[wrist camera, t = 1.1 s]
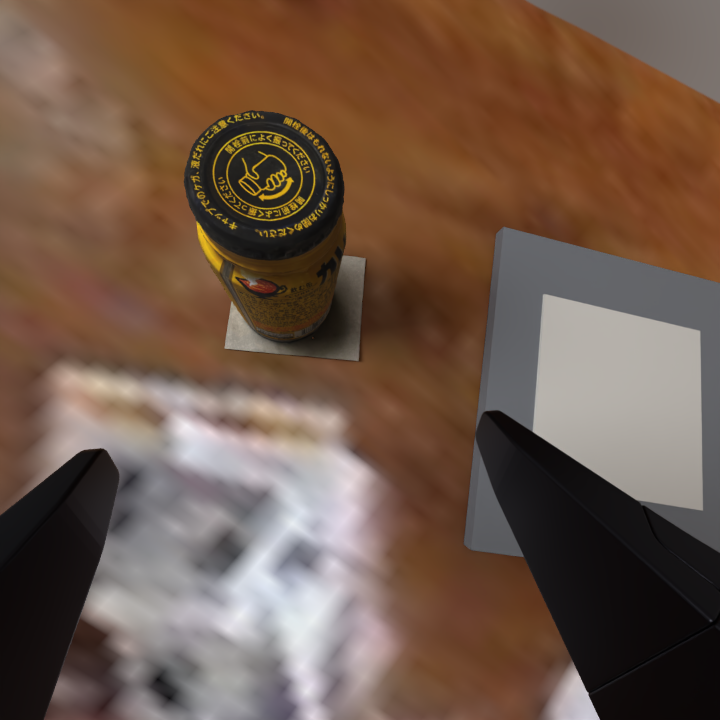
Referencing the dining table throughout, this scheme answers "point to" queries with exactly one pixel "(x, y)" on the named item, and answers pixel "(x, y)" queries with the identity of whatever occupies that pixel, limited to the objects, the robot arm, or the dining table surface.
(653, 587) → the robot arm
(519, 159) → the dining table surface
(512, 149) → the dining table surface
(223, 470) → the dining table surface
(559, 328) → the grey square board
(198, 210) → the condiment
